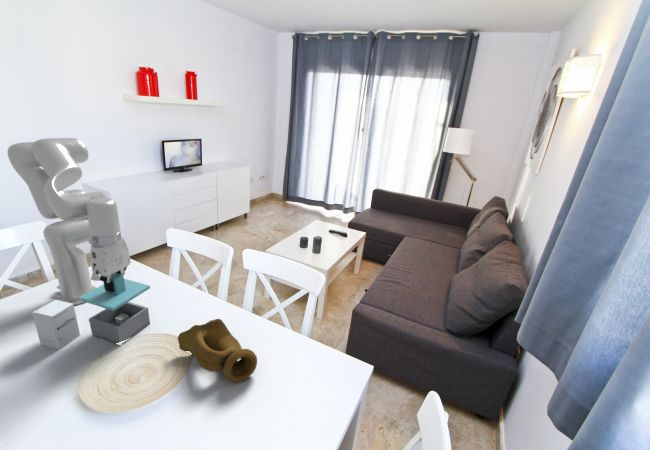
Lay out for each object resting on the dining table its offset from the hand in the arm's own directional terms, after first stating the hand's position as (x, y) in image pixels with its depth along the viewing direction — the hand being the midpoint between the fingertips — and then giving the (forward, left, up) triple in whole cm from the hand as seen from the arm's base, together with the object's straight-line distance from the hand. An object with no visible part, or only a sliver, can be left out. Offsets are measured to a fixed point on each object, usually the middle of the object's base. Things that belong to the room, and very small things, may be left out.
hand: (115, 288), depth 102 cm
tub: (0, 0, -17) cm, 17 cm away
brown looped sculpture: (+38, 0, -17) cm, 42 cm away
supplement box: (-13, -11, -17) cm, 24 cm away
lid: (0, 0, -4) cm, 4 cm away
